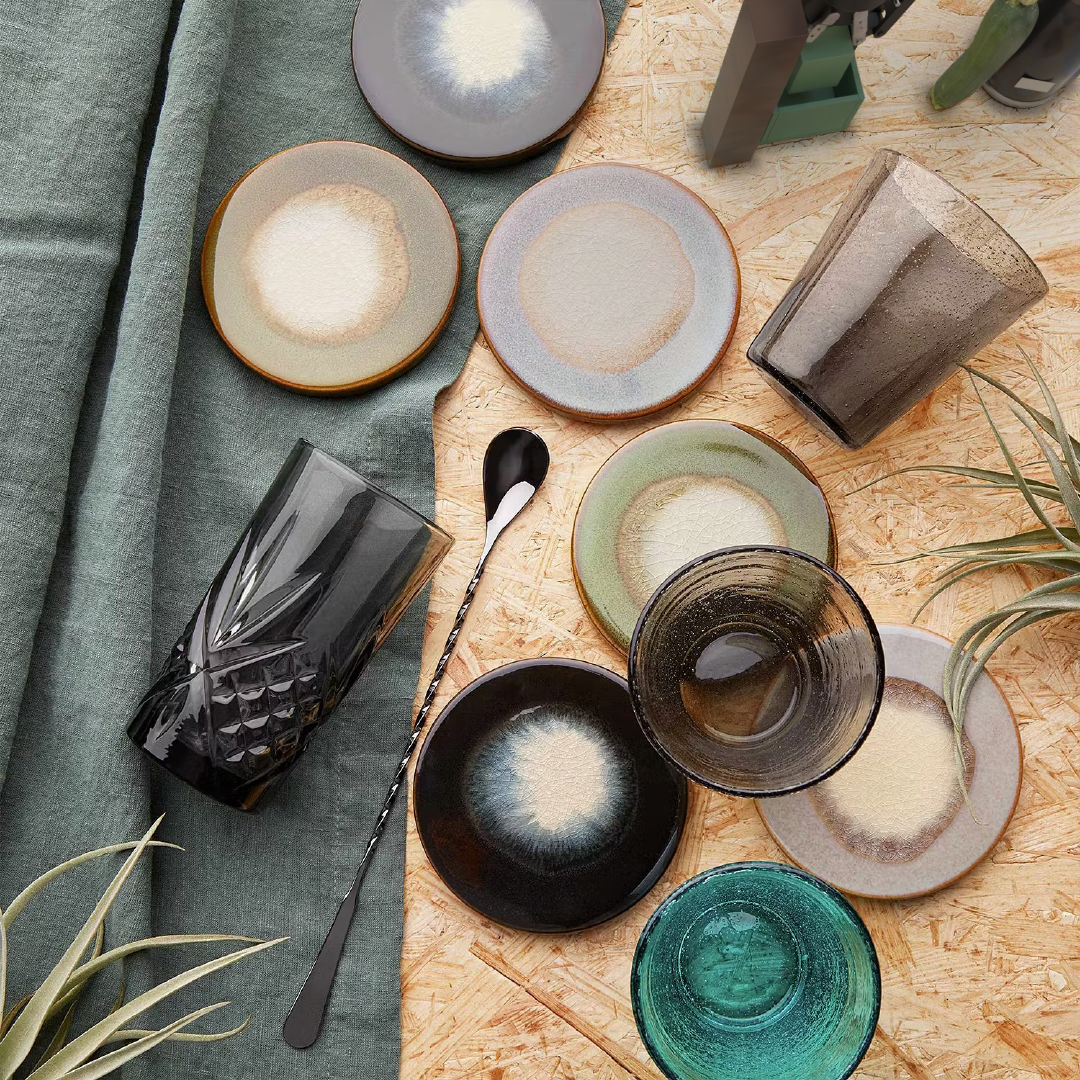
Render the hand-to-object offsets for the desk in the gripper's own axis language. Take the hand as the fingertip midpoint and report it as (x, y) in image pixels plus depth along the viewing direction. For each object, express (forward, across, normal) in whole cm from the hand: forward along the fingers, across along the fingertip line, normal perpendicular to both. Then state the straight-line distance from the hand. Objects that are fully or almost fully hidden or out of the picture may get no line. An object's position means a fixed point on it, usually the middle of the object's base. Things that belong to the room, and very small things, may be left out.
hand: (808, 64), depth 91 cm
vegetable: (+6, +15, -4) cm, 17 cm away
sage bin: (+5, 0, 0) cm, 5 cm away
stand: (+6, -8, -4) cm, 10 cm away
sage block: (0, 0, 0) cm, 0 cm away
